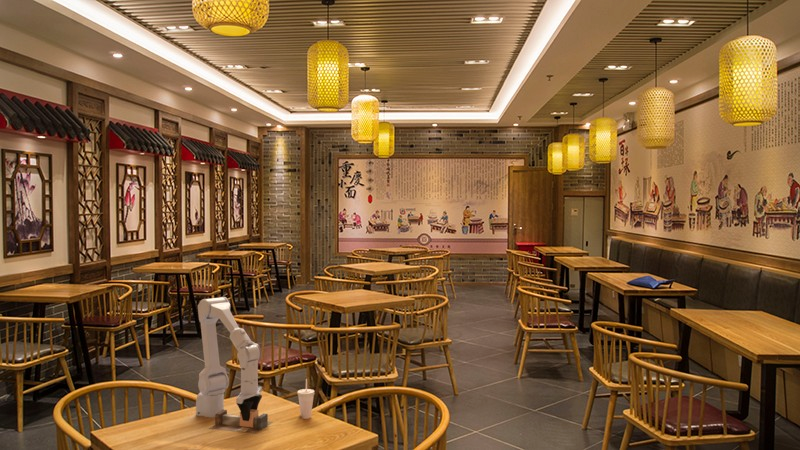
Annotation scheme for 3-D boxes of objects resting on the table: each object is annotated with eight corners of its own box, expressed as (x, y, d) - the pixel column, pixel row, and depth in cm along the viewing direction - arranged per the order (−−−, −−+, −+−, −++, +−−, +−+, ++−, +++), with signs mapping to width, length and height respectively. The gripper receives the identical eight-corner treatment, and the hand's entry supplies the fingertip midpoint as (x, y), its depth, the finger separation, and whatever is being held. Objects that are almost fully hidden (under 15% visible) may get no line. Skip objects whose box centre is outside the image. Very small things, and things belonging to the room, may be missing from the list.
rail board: (209, 431, 209) (209, 416, 208) (227, 420, 220) (227, 406, 220) (256, 436, 204) (256, 421, 204) (272, 424, 216) (272, 410, 215)
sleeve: (239, 426, 210) (239, 412, 210) (245, 422, 214) (245, 408, 214) (252, 427, 209) (252, 413, 209) (258, 423, 213) (258, 409, 213)
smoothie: (316, 414, 227) (316, 377, 227) (312, 420, 221) (312, 382, 221) (299, 414, 228) (299, 377, 228) (295, 419, 221) (295, 381, 221)
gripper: (249, 385, 203) (249, 426, 203) (269, 375, 217) (269, 412, 217) (230, 384, 205) (230, 424, 205) (251, 373, 219) (251, 411, 219)
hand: (249, 418), depth 211 cm, fingers closed on sleeve, 4 cm apart
